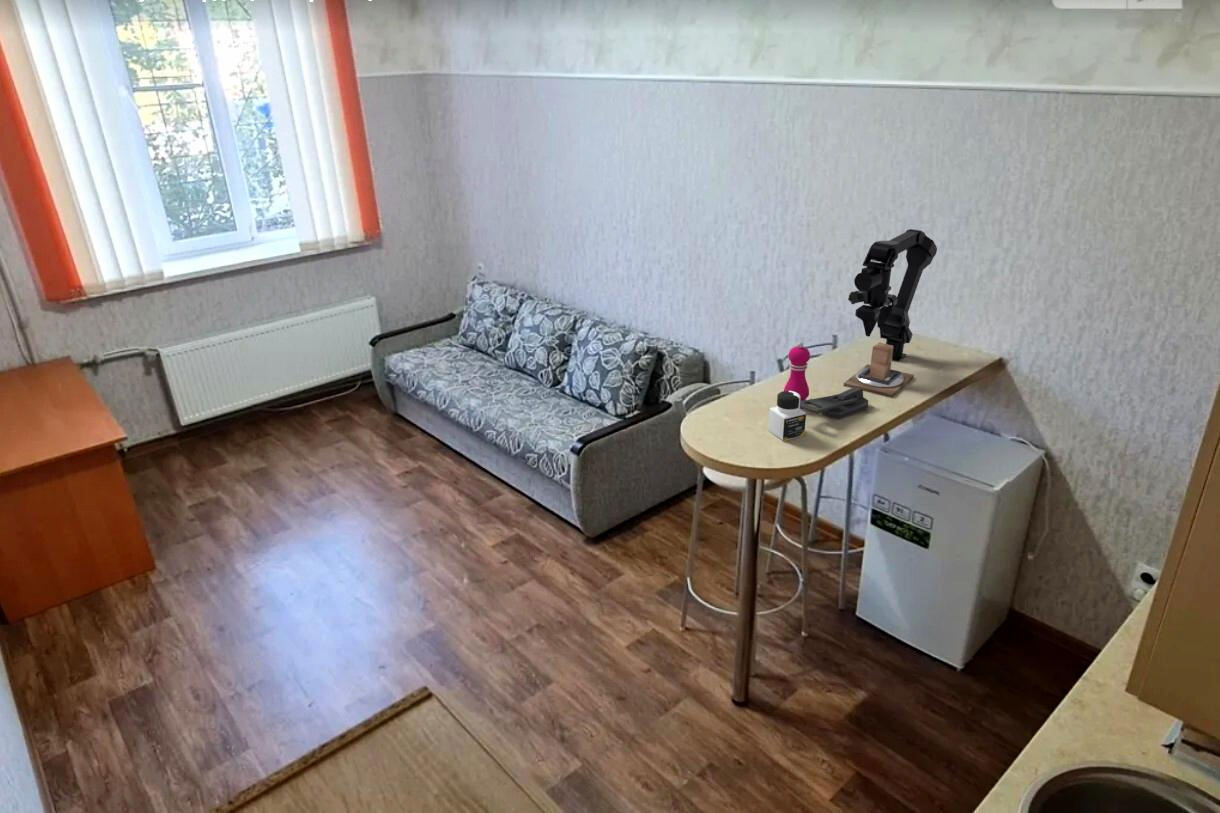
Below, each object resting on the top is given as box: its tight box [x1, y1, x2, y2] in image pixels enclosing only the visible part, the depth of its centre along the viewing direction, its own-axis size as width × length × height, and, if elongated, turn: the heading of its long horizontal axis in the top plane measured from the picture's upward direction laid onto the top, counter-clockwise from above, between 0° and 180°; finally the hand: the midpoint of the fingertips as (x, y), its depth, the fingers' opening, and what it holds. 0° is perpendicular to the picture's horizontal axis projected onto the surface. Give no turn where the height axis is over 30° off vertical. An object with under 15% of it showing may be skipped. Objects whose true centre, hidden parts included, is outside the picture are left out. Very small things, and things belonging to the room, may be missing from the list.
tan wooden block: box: [869, 342, 893, 380], centre depth 237 cm, size 4×4×10 cm
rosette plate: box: [855, 364, 903, 388], centre depth 239 cm, size 14×14×2 cm
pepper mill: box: [783, 341, 811, 410], centre depth 223 cm, size 7×7×20 cm
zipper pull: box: [800, 387, 869, 421], centre depth 220 cm, size 9×7×25 cm
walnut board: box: [843, 364, 915, 398], centre depth 240 cm, size 18×15×1 cm
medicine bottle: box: [768, 390, 807, 442], centre depth 210 cm, size 7×7×12 cm
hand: (873, 331), depth 243 cm, fingers open, 9 cm apart
